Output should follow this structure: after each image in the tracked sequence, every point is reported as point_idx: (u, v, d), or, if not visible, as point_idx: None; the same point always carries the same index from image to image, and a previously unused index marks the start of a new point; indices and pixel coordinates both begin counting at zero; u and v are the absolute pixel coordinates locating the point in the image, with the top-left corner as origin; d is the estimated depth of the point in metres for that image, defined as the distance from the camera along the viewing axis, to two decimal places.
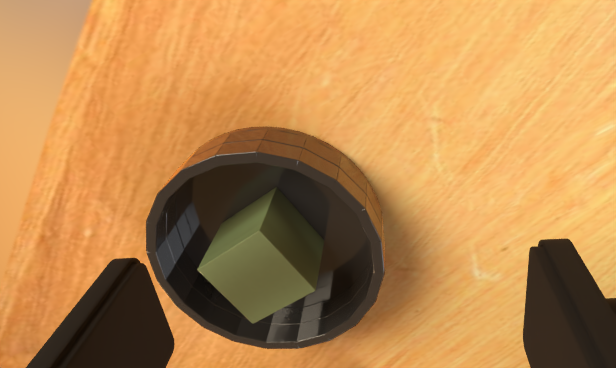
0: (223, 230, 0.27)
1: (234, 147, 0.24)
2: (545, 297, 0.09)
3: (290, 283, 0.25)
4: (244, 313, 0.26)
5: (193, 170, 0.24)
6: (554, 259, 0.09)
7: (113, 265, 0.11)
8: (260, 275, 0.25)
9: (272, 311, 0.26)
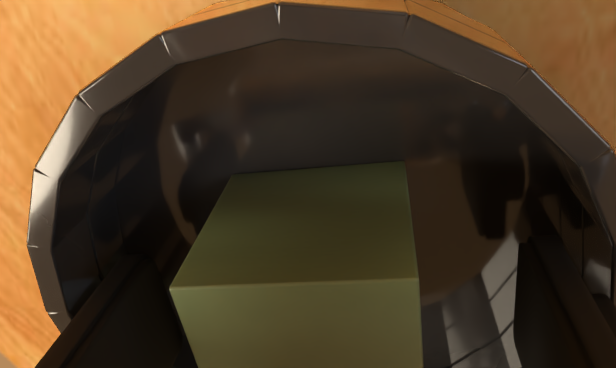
0: None
1: None
2: (532, 292, 0.09)
3: (358, 316, 0.08)
4: None
5: (50, 295, 0.11)
6: (541, 255, 0.09)
7: (123, 261, 0.11)
8: (296, 356, 0.09)
9: None
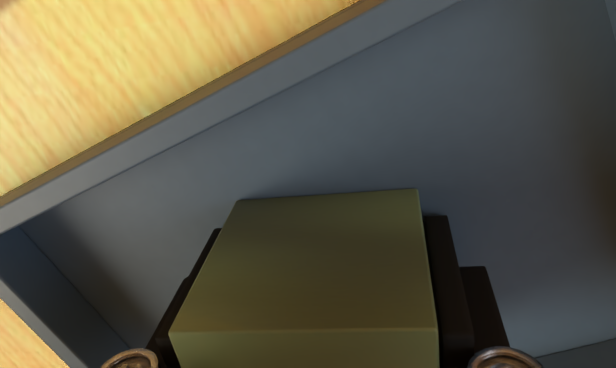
0: None
1: None
2: None
3: (371, 365, 0.08)
4: None
5: None
6: (429, 232, 0.11)
7: (217, 233, 0.12)
8: None
9: None
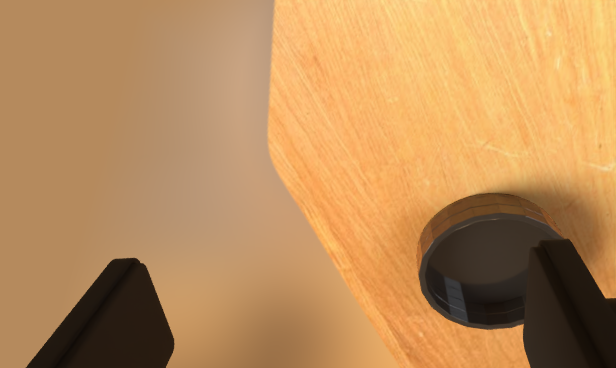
0: None
1: (425, 245, 0.43)
2: (545, 297, 0.09)
3: None
4: None
5: (422, 270, 0.44)
6: (554, 259, 0.09)
7: (113, 265, 0.11)
8: None
9: None
